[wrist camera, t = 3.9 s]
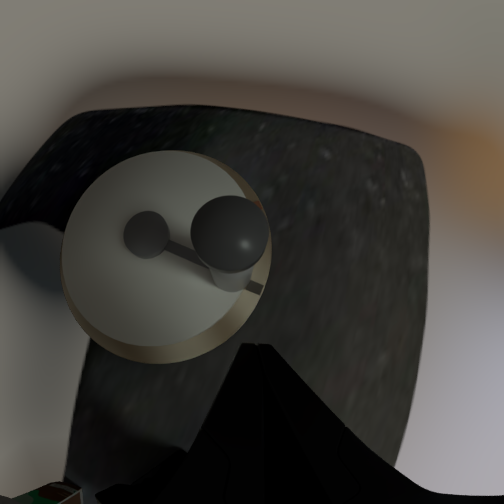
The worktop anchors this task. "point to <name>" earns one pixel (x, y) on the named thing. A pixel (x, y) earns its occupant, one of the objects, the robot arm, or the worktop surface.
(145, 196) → the dial
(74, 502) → the food container
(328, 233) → the worktop surface
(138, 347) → the dial base
